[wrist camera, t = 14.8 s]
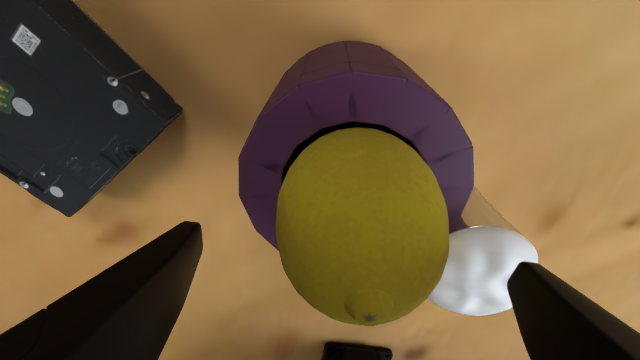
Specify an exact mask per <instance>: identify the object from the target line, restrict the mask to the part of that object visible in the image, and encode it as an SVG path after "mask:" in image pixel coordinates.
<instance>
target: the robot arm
mask: <svg viewBox="0 0 640 360" xmlns="http://www.w3.org/2000/svg"><path fill="white" fill-rule="evenodd" d="M202 249H203V241H202V231H201V225H200V224H199V223H198V222H190V221H184V222H182V223H180V224H179V225H177V226H175V227H174V228H172V229H170V230H169V231H167V232H166V233H164V234H162V235H161V236H159V237H158V238H156V239H154V240H153V241H151V242H150V243H148V244H146V245H145V246H143V247H142V248H140V249H138V250H137V251H135V252H133V253H132V254H130V255H129V256H127V257H125V258H124V259H122V260H121V261H119V262H117V263H116V264H114V265H113V266H111V267H109V268H108V269H106V270H105V271H103V272H101V273H100V274H98V275H96V276H95V277H93V278H92V279H90V280H88V281H87V282H85V283H84V284H82V285H80V286H79V287H77V288H76V289H74V290H72V291H71V292H69V293H68V294H66V295H64V296H63V297H61V298H59V299H58V300H56V301H55V302H53V303H51V304H50V305H48V306H47V308H46V309H42V310H40V311H38V312H37V313H35V314H33V315H32V316H30V317H29V318H27V319H25V320H24V321H22V322H21V323H19V324H17V325H16V326H14V327H12V328H11V329H9V330H7V331H6V332H4V333H2V334H1V335H0V360H158V358H159V356H160V354H161V352H162V350H163V348H164V346H165V344H166V342H167V339H168V337H169V335H170V333H171V331H172V329H173V327H174V325H175V323H176V321H177V318H178V316H179V314H180V312H181V310H182V307H183V305H184V303H185V300H186V297H187V294H188V291H189V289H190V286H191V283H192V280H193V277H194V274H195V271H196V268H197V265H198V262H199V260H200V257H201V254H202ZM507 290H508V293H509V297H510V300H511V303H512V306H513V310H514V313H515V316H516V319H517V323H518V326H519V329H520V332H521V335H522V338H523V341H524V344H525V347H526V349H527V352H528V354H529V357H530V359H531V360H640V333H638V332H637V331H635V330H634V329H632V328H631V327H630V326H628V325H627V324H625V323H624V322H622V321H621V320H619V319H618V318H617V317H615V316H614V315H612V314H611V313H609V312H608V311H606V310H605V309H603V308H602V307H601V306H599V305H598V304H596V303H595V302H593V301H592V300H590V299H589V298H588V297H586V296H585V295H583V294H582V293H580V292H579V291H577V290H576V289H574V288H573V287H572V286H570V285H569V284H567V283H566V282H564V281H563V280H561V279H560V278H559V277H557V276H556V275H554V274H553V273H551V272H550V271H548V270H547V269H545V268H544V267H543V266H541V265H540V264H538V263H534V262H525V261H523V262H520V263H519V264H518V265H517V267H516V268H515V270H514V271H513V273H512V274H511V276H510V277H509V279H508V281H507ZM392 356H393V355H392V351H391V350H390V349H385V348H376V347H366V346H357V345H348V344H339V343H326V344H325V346H324V351H323V355H322V359H321V360H391V359H392Z"/></svg>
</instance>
